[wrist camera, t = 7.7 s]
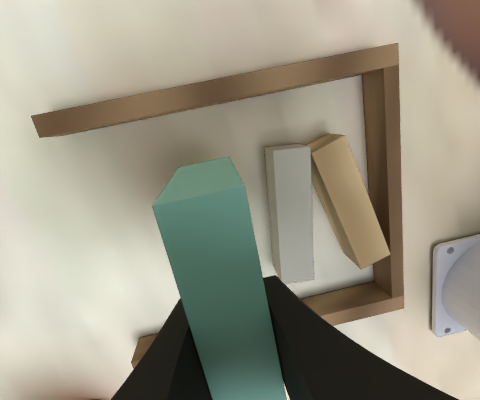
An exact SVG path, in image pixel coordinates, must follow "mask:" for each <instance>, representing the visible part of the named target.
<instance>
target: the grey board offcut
mask: <svg viewBox="0 0 480 400" xmlns="http://www.w3.org/2000/svg"><path fill="white" fill-rule="evenodd" d="M265 160H266V174H267V187H268V201H269V214H270V228H271V241H272V255H273V266H274V268H275V271H276V273H277V275H278V277H279V279H280V280H281V281H282V282H283V283H284V284H289V283H296V282H302V281H309V280H314V259H313V222H312V186H311V149H310V146H306V145H301V144H289V145H281V146H272V147H265Z"/></svg>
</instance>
